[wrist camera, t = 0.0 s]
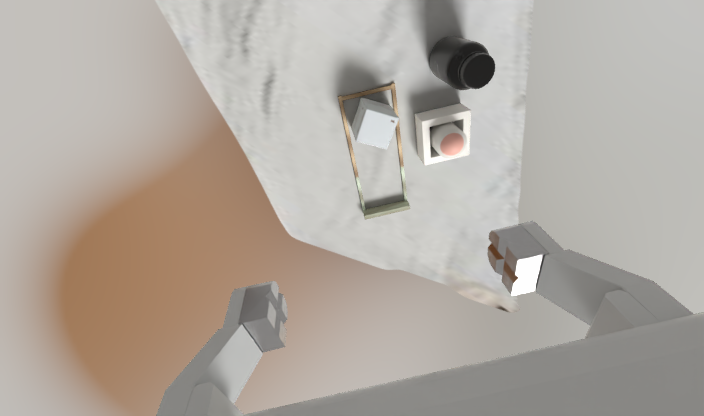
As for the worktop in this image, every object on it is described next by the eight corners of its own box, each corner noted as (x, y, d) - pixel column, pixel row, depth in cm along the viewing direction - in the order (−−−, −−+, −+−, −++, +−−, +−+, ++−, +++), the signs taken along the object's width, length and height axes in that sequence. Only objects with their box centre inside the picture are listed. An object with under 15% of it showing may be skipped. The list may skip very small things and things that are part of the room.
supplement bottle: (421, 69, 53) (446, 85, 43) (441, 28, 50) (474, 35, 40) (452, 84, 55) (483, 103, 46) (474, 46, 52) (512, 57, 42)
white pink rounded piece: (428, 124, 56) (440, 137, 51) (457, 117, 56) (471, 129, 51) (429, 151, 60) (440, 165, 55) (456, 145, 60) (470, 158, 55)
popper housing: (414, 113, 58) (421, 121, 54) (460, 103, 57) (470, 110, 54) (417, 155, 63) (424, 165, 59) (459, 145, 63) (469, 154, 59)
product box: (360, 95, 55) (366, 107, 49) (390, 105, 56) (400, 117, 50) (350, 127, 58) (355, 142, 52) (379, 135, 59) (387, 150, 53)
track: (337, 96, 54) (339, 100, 52) (394, 82, 54) (397, 86, 52) (363, 213, 70) (365, 219, 68) (407, 203, 69) (410, 209, 68)
